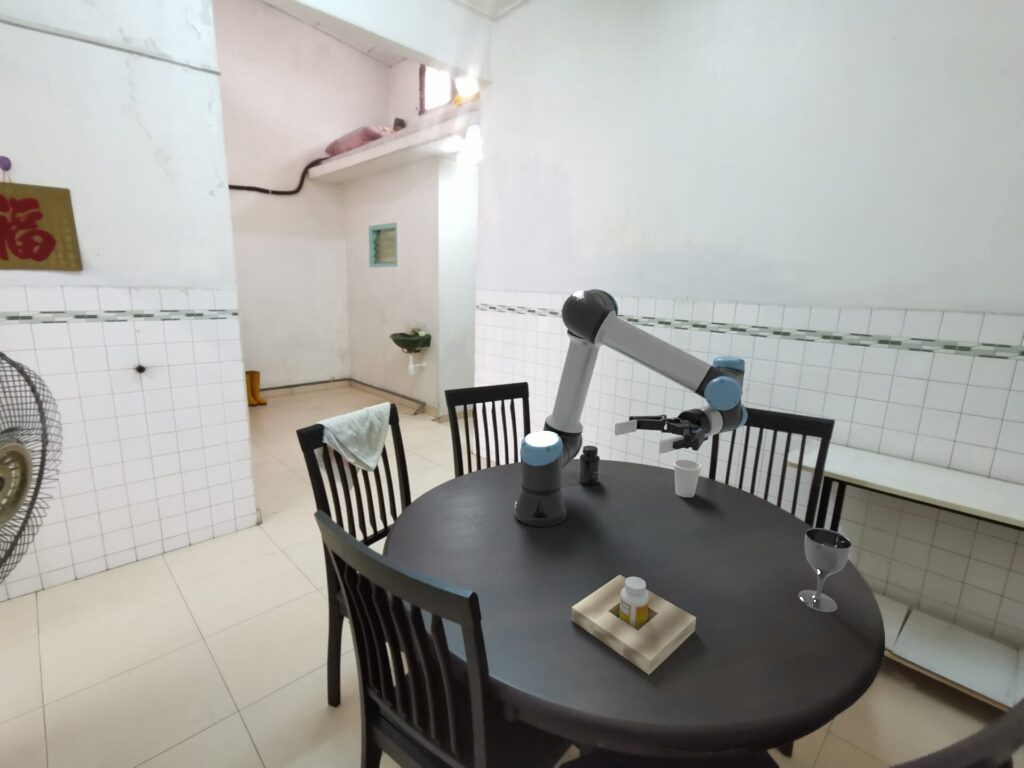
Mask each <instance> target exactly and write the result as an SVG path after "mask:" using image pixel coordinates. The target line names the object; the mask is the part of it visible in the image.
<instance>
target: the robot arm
mask: <svg viewBox="0 0 1024 768" xmlns="http://www.w3.org/2000/svg"><path fill="white" fill-rule="evenodd" d="M618 314H619V306H618V303H617V300H616V299H615V297H614V296H613V295H612V294H611V293H609V292H607V291H605V290H604V289H603V290H602V289H597V288H593V289H592V288H591V289H588V290H579V291H576V292H574V293H572V294H570V295H569V296H568V297H567V298H566V300H565V301H564V303H563V305H562V308H561V318H562V322H563V324H564V326H565V327H566V328H567V329H566V330H567V331H566V334H567V336H568V338H569V339H570V340H569V343H568V344H569V345H568V348H567V353H566V357H565V360H564V363H563V364H564V365H563V368H562V373H561V376H560V381H559V384H558V389H557V394H556V397H555V401H554V404H553V405H554V406H553V410H552V413H551V414H550V415H548V416H547V417H546V418H545V421H544V425H543V429H542V430H538V431H535V432H530V433H528V434H526V436H524V437H523V439H522V440H521V442H520V449H519V456H520V477H519V478H520V485H519V486H520V488H519V492H518V494H517V497H516V501H515V502H514V504H513V505H514V507H513V510H514V511H513V514H515V515H514V517H515V518H516V520H517V521H519V520H520V521H521V523H522V522H523V523H522V524H524V523H526V524H525V525H527V524H528V525H527V526H531V525H532V526H531V527H538V528H540V527H552V526H555V525H559V524H561V523H562V522H563V521H565V519H566V517H567V504H566V503H565V499H564V495H563V492H562V472H563V469H564V468H565V467H566V466H567V465H568V464H569V463H570V462H571V461H572V460H574V459H575V458H576V457H577V456H578V455H579V453H580V451H581V448H583V435H582V434H583V430H584V426H583V424H582V423H581V418H582V414H583V411H584V406H585V403H586V401H587V400H586V399H587V396H588V391H589V390H590V389H589V388H590V384H591V380H592V377H593V374H594V369H595V367H596V363H597V360H598V359H597V358H598V355H599V352H600V348H601V347H602V346H606V347H607V348H609V349H611V350H612V351H614V352H617V353H618V354H620V355H622V356H624V357H626V358H627V359H629V360H631V361H633V362H636V363H637V364H639V365H641V366H643V367H645V368H647V369H648V370H651V371H652V372H654V373H657V374H658V375H660V376H662V377H664V378H666V379H667V380H670V381H671V382H673V383H675V384H676V385H679V386H680V387H683V388H684V389H686V390H688V391H690V392H692V393H694V394H695V395H698V396H699V397H701V398H702V399H704V400H705V401H706V403H707V404H708V405H702V406H699V407H696V408H690V409H685V410H683V411H682V412H680V413H679V414H678V415H677V417H676V416H675V417H674V416H673V417H672V418H671V417H668V416H667V415H666V414H659V415H630V416H628V420H627V421H623V422H617V423H614V436H620V435H625V434H629V433H635V432H637V430H639V431H644V430H645V431H660V432H661V433H662V434H663V433H666V434H671V435H677V436H673V437H669V438H665V439H661V440H659V449H658V453H659V454H662V455H663V454H667V453H669V452H673V451H677V450H681V449H690V448H691V450H692V451H695V452H697V451H699V449H700V448H701V446H702V445H703V443H704V442H705V441H707V440H709V437H711V436H714V435H718V434H722V433H726V432H733V431H734V430H737V429H739V428H741V427H742V426H744V425H745V424H746V422H747V420H748V417H749V416H748V411H747V409H746V408H747V407H746V406H745V405H744V404H743V403H742V395H743V386H744V380H745V379H744V378H745V372H746V367H745V364H746V362H745V360H744V359H743V358H741V357H736V356H725V355H724V356H723V355H722V356H721V355H720V356H716V357H714V358H713V359H712V360H713V361H712V365H711V363H708V362H707V361H704V360H702V359H700V358H698V357H697V356H695V355H692V354H690V353H688V352H687V351H684V350H682V349H680V348H679V347H676V346H675V345H673V344H671V343H669V342H667V341H665V340H663V339H661V338H659V337H658V336H655V335H653V334H652V333H650V332H647V331H645V330H644V329H641V328H639V327H637V326H635V325H634V324H632V323H629V322H628V321H625V320H623V319H621V318H620V317H619V315H618ZM665 426H666V429H665ZM520 521H519V522H520Z"/></svg>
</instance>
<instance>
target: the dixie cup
mask: <svg viewBox="0 0 1024 768" xmlns="http://www.w3.org/2000/svg"><path fill="white" fill-rule="evenodd" d="M673 466H674V467H673V468H674V485H675V487H674V488H675V494H676V495H677V496H679V497H682V498H686V497H687V499H690V498H694V497H695V493H696V490H697V486H698V481H699V477H700V475H701V470H702V468H703V466H702V464H701V463H700V462H698V461H695V460H692V459H685V458H684V459H683V458H681V459H677V460H675V461H673ZM689 497H690V498H689Z"/></svg>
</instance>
